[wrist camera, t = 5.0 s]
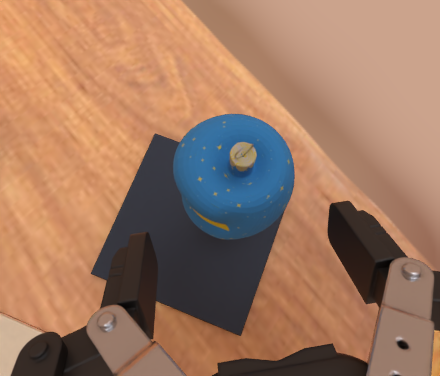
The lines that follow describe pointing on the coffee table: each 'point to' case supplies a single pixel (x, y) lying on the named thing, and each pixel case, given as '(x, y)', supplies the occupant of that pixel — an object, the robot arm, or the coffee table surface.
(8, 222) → the coffee table surface
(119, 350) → the robot arm
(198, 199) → the ornament
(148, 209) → the slate mat
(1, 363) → the cream mat
